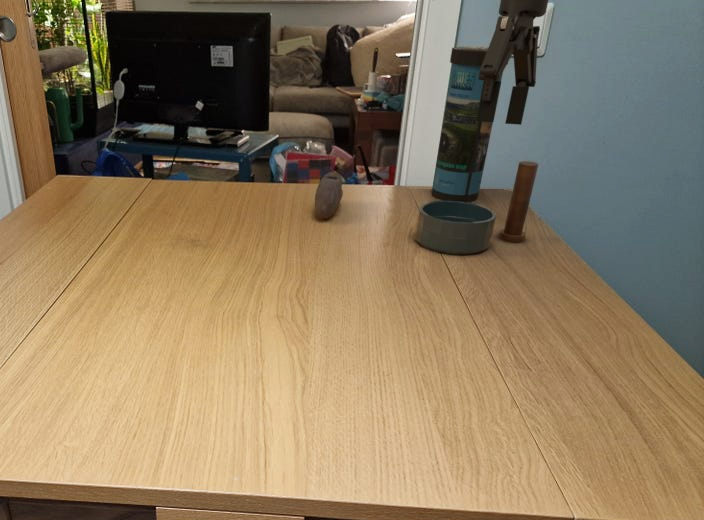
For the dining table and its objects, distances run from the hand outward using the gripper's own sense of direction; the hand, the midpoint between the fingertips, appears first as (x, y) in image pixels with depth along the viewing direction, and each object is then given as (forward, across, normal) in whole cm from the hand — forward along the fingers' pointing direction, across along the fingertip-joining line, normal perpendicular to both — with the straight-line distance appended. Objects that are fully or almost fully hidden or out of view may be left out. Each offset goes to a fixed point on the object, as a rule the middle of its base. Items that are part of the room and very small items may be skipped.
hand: (499, 123), depth 119 cm
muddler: (+20, -3, +6) cm, 21 cm away
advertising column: (+16, -21, -15) cm, 31 cm away
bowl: (+21, +7, -2) cm, 22 cm away
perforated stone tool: (+20, +8, -29) cm, 36 cm away
